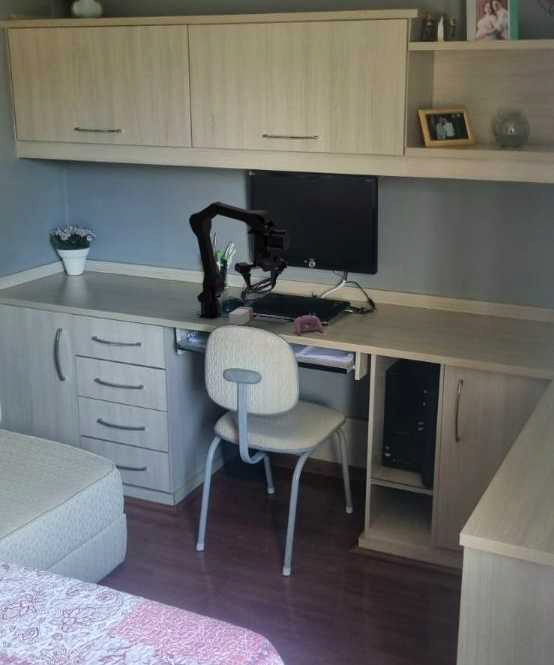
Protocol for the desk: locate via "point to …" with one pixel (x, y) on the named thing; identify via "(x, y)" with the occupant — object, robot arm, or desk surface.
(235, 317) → the card deck box
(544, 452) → the desk surface
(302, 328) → the video game controller
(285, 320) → the desk mat
